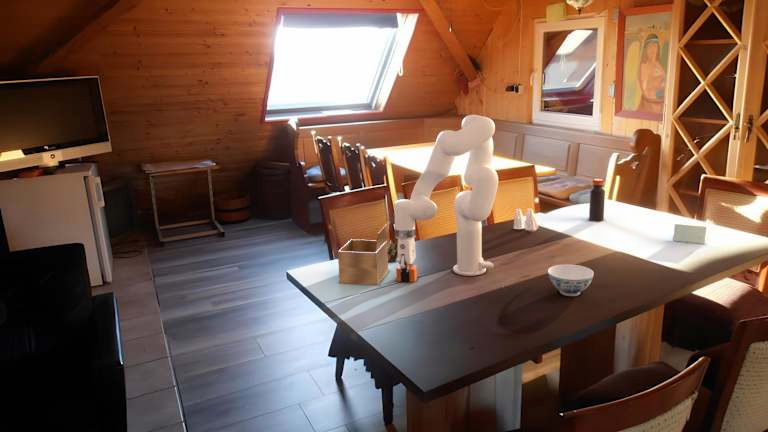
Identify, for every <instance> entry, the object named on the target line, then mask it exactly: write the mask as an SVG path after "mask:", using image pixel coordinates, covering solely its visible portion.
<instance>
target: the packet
mask: <svg viewBox="0 0 768 432" xmlns="http://www.w3.org/2000/svg"><path fill="white" fill-rule="evenodd" d="M400 265H401V264H398V266H397V267H396V268H395V272H396V282H402V281H401V268H400ZM404 266H405V267H406V266H407V265H404ZM408 271H409V277H410V281H409V282H408V283H415V282H416V281H417V279H418V265H413V264H412V265H409V268H408Z"/></svg>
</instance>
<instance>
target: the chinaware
mask: <svg viewBox="0 0 768 432" xmlns="http://www.w3.org/2000/svg"><path fill="white" fill-rule="evenodd" d="M594 274H595V273H594V271H593V270H592V269H591V268H589V267H587V266H583V265H579V264H568V263H567V264H566V263H565V264H556V265H553V266H551V267H548V268H547V275H548V278H549V280H550V283H551V284H552V286H553V287H554V288H555V289H556V290H558V291H559V293H560V294H561V295H563V296H567V297H577V296H579V295H580V294H581V292H583V291H584V290H586V289H587V288H588V287H589V286H590V285H591V282H592V281H593V278H594Z"/></svg>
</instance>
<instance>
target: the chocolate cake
mask: <svg viewBox="0 0 768 432" xmlns="http://www.w3.org/2000/svg"><path fill="white" fill-rule="evenodd" d="M387 251H388V262H393V263H397V262H398V243H393V242H392V239H390V241H389V243H388V244H387Z"/></svg>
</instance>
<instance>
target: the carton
mask: <svg viewBox="0 0 768 432" xmlns="http://www.w3.org/2000/svg"><path fill="white" fill-rule="evenodd" d="M376 246H377V239H376V240H375V239H373V240H372V239H350V240H348V242H346V243H345V244H344V245H343V246H342V247H341V248H340V249H339V250H338V251H337V261H338V262H337V263H338V276H339V283H340V284H354V285H356V284H357V285H371V286H379V284H380V282H381V281H382V280H383V279H384V277H385V276H386V275H387V274H388V272H389V260H388V251H387V248H388V240H386V241H385V243H384V244H383V245H382V246H381V247H380V248H379V249H378V250H377V251H376Z"/></svg>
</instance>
